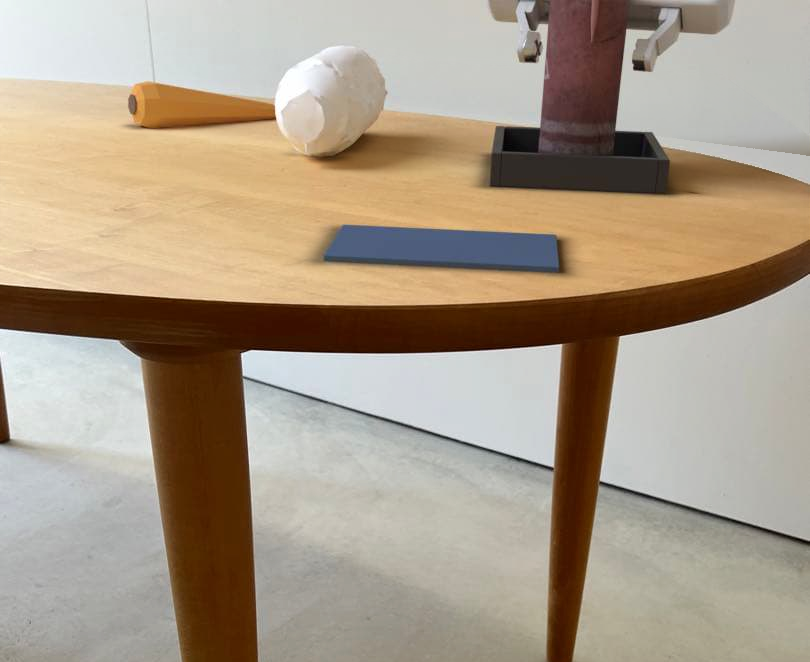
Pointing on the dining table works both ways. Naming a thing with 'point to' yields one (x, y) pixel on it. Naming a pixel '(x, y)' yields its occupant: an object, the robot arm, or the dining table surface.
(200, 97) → the carrot
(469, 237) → the blue-grey flat slab
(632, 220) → the dining table surface
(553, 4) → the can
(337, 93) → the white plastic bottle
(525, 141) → the dark grey open box
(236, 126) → the dining table surface
